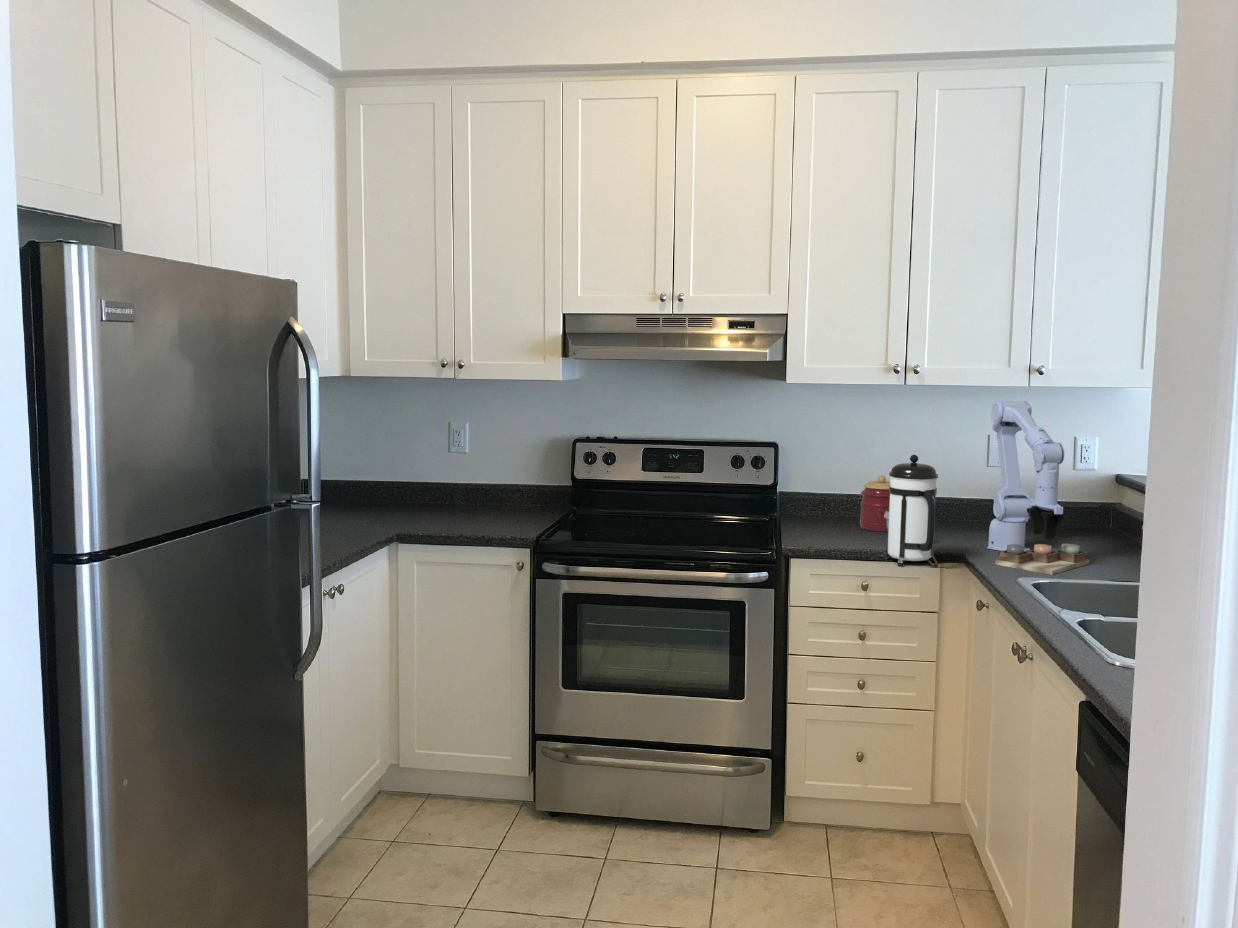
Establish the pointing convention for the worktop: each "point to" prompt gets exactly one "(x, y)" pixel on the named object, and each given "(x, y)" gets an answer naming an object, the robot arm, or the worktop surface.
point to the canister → (875, 505)
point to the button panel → (1043, 561)
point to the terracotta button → (1042, 549)
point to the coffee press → (912, 512)
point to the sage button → (1070, 548)
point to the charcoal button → (1015, 549)
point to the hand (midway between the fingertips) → (1043, 535)
